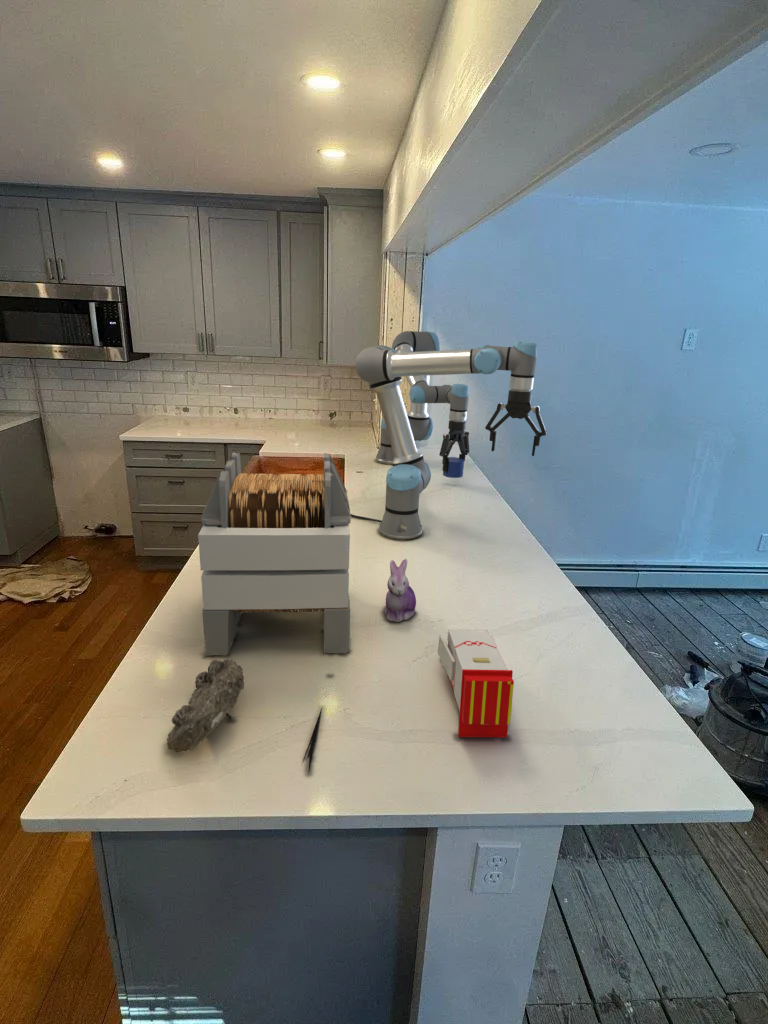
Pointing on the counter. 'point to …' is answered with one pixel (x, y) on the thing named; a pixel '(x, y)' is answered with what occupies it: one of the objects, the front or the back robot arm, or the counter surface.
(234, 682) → the fossil
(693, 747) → the counter surface
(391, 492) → the front robot arm
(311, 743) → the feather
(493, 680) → the toy
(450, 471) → the canister
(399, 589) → the figurine
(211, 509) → the transformer
